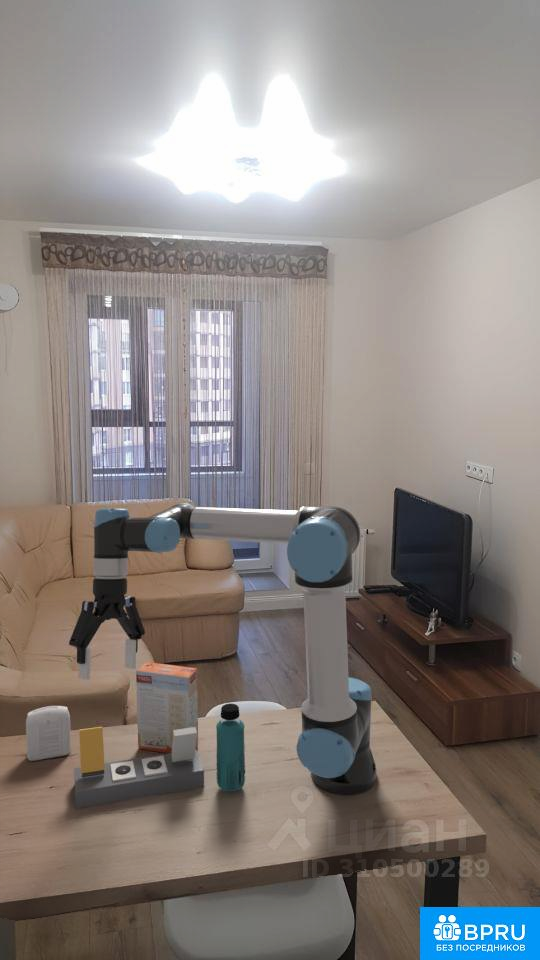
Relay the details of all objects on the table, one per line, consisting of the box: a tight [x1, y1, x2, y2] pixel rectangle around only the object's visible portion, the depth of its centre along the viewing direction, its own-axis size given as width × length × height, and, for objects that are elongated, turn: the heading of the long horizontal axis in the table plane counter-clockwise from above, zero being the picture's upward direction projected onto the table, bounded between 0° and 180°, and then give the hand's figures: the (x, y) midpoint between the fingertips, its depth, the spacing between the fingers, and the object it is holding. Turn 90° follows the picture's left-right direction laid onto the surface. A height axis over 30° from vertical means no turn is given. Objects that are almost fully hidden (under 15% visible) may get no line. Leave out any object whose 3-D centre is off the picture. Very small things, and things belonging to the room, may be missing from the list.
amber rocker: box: [78, 726, 105, 778], centre depth 155 cm, size 5×2×10 cm, turn 107°
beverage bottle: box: [215, 703, 246, 792], centre depth 155 cm, size 6×7×20 cm
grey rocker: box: [172, 727, 197, 763], centre depth 157 cm, size 5×2×10 cm, turn 107°
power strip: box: [73, 748, 205, 809], centre depth 157 cm, size 28×9×4 cm, turn 107°
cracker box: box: [135, 661, 199, 754], centre depth 171 cm, size 14×6×21 cm, turn 73°
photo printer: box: [25, 705, 72, 762], centre depth 168 cm, size 10×4×12 cm, turn 111°
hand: (107, 673), depth 155 cm, fingers open, 13 cm apart
